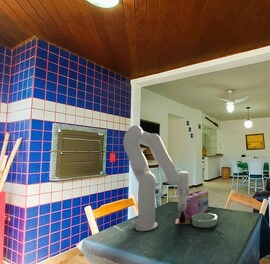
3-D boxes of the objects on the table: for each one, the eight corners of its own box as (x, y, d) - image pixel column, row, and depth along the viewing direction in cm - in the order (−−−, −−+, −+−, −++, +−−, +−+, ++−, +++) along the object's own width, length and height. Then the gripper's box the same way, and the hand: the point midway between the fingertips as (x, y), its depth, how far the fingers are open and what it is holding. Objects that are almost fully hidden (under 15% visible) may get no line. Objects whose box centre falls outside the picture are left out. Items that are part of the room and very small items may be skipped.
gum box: (200, 208, 153) (200, 190, 155) (209, 209, 149) (209, 191, 150) (181, 217, 133) (181, 196, 134) (191, 219, 129) (191, 197, 130)
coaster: (175, 224, 120) (175, 223, 120) (176, 219, 129) (175, 218, 129) (190, 223, 121) (190, 223, 121) (189, 218, 130) (189, 218, 130)
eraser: (178, 221, 123) (178, 216, 123) (178, 220, 126) (178, 215, 126) (188, 221, 124) (188, 216, 124) (188, 219, 127) (188, 214, 127)
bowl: (192, 228, 113) (192, 221, 113) (191, 219, 128) (191, 213, 128) (218, 227, 114) (218, 220, 114) (214, 218, 129) (214, 212, 129)
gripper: (177, 188, 135) (177, 215, 133) (176, 194, 117) (175, 225, 116) (188, 188, 135) (188, 215, 134) (188, 194, 118) (188, 224, 116)
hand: (182, 219), depth 125 cm, fingers open, 8 cm apart
